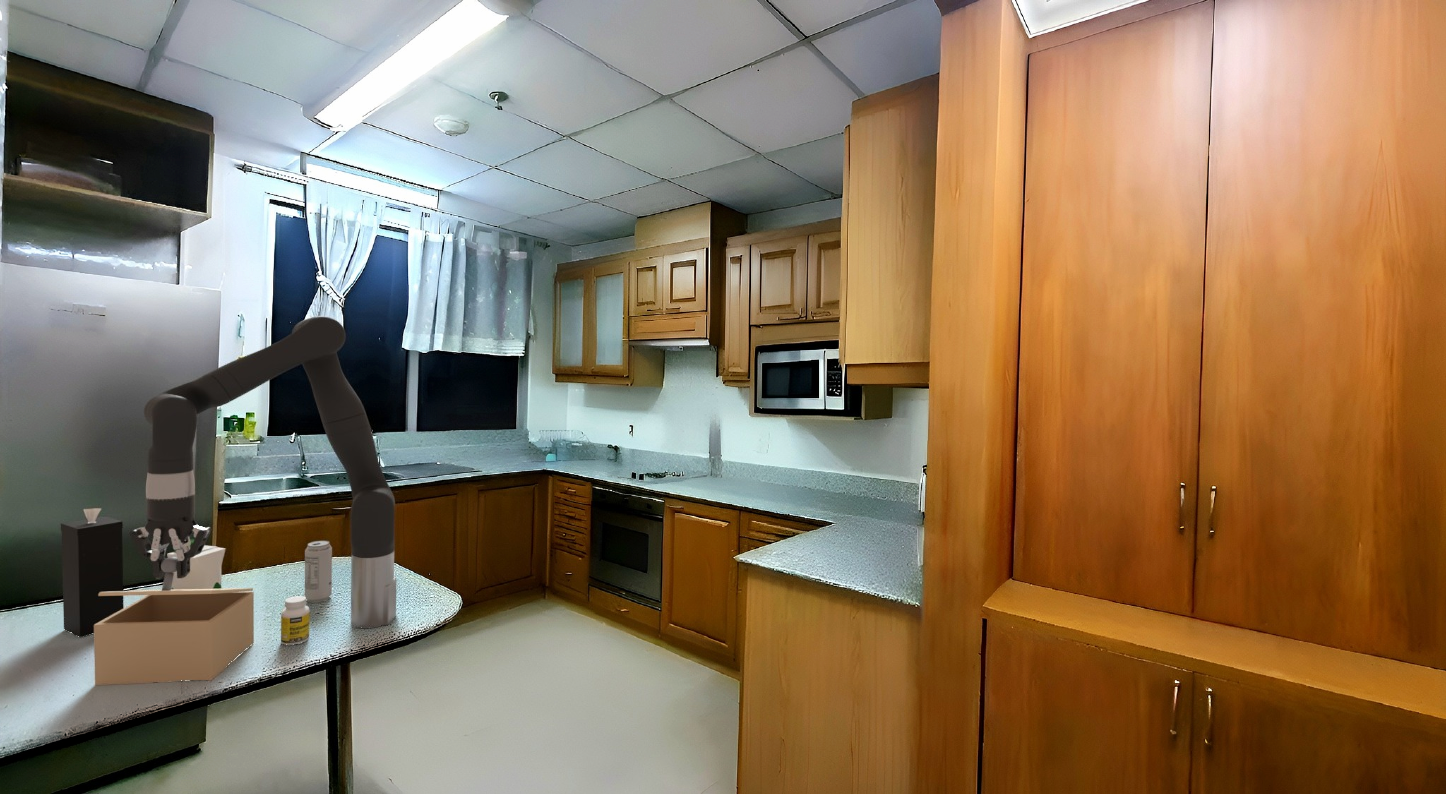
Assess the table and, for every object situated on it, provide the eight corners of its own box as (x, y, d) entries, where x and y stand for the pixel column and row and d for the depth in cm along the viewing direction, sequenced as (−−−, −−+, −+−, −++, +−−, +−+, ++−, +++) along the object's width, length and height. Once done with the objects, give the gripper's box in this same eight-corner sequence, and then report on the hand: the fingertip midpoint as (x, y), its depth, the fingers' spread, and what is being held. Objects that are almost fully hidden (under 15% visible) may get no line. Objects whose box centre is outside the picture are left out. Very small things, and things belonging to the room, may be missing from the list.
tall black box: (124, 625, 151) (122, 507, 149) (79, 638, 144) (77, 514, 142) (107, 618, 154) (105, 502, 152) (62, 630, 147) (60, 508, 145)
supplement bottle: (288, 648, 144) (288, 605, 143) (276, 641, 147) (276, 599, 146) (314, 640, 148) (314, 598, 148) (302, 633, 151) (302, 592, 151)
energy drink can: (336, 598, 172) (336, 543, 171) (311, 605, 167) (312, 548, 166) (324, 592, 175) (324, 538, 174) (300, 599, 170) (300, 543, 169)
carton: (253, 643, 145) (253, 591, 144) (211, 680, 129) (211, 621, 129) (151, 647, 141) (150, 593, 141) (95, 684, 126) (93, 624, 125)
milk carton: (200, 615, 158) (199, 535, 157) (231, 620, 156) (230, 539, 155) (162, 630, 149) (161, 545, 148) (194, 635, 148) (194, 549, 146)
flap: (252, 590, 144) (258, 557, 146) (212, 593, 129) (219, 555, 131) (151, 592, 141) (158, 557, 142) (98, 595, 125) (106, 556, 127)
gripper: (221, 489, 136) (221, 570, 137) (143, 489, 133) (144, 571, 134) (199, 497, 128) (199, 583, 129) (116, 497, 126) (117, 584, 127)
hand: (171, 576), depth 132 cm, fingers closed on flap, 3 cm apart
